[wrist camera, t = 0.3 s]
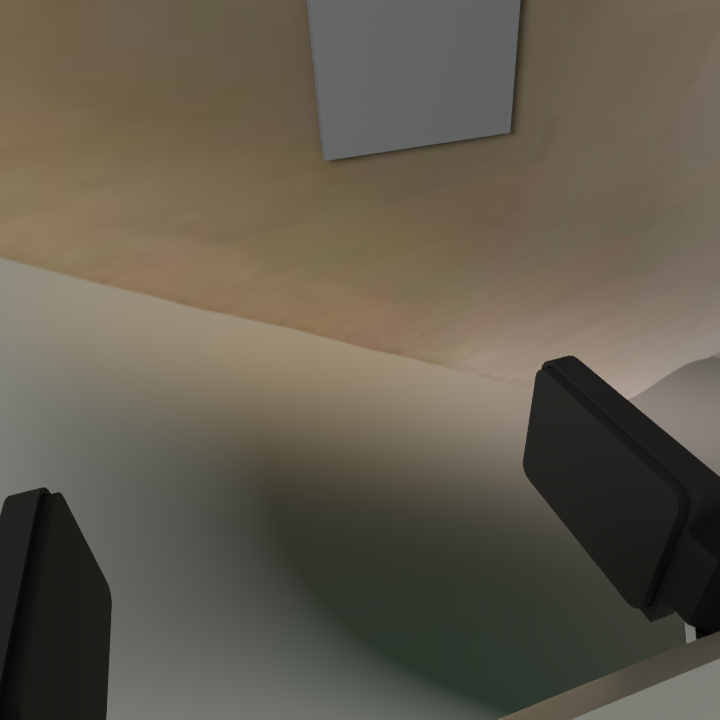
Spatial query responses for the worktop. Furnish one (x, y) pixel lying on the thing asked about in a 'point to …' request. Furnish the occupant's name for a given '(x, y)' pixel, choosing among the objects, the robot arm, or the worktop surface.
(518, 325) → the worktop surface
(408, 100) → the rubber mat
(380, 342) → the worktop surface
